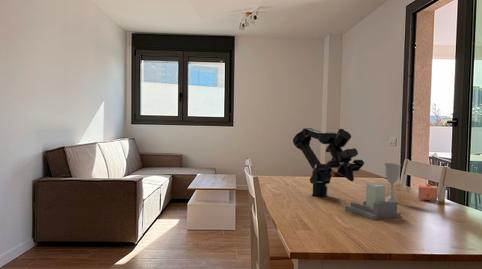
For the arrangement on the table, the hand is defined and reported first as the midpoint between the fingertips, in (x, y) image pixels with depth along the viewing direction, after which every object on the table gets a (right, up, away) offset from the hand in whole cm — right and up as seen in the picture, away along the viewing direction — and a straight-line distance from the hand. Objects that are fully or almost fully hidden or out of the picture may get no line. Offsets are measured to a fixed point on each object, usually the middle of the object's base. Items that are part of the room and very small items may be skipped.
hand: (352, 180), depth 148 cm
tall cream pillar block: (+5, -10, -12) cm, 17 cm away
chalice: (+22, -12, +12) cm, 28 cm away
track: (+4, -12, -11) cm, 16 cm away
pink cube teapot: (+42, -12, +16) cm, 46 cm away
